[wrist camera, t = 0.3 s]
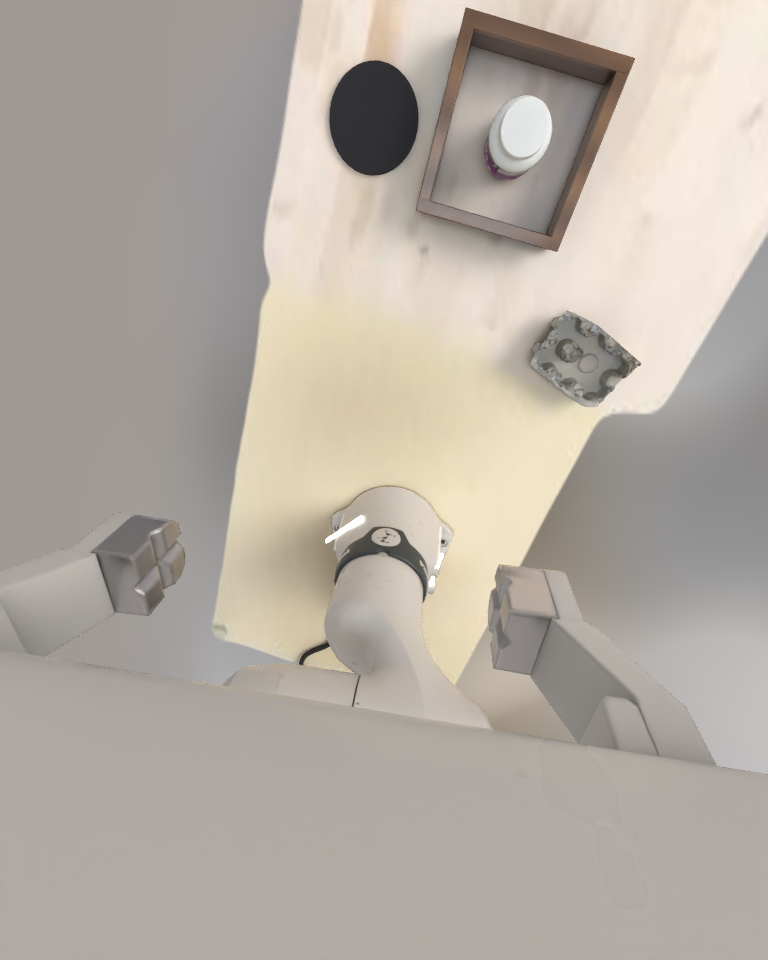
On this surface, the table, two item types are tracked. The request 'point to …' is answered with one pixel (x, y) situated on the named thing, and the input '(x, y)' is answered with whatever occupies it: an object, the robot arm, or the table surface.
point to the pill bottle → (517, 137)
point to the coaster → (373, 117)
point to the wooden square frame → (548, 54)
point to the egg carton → (582, 359)
